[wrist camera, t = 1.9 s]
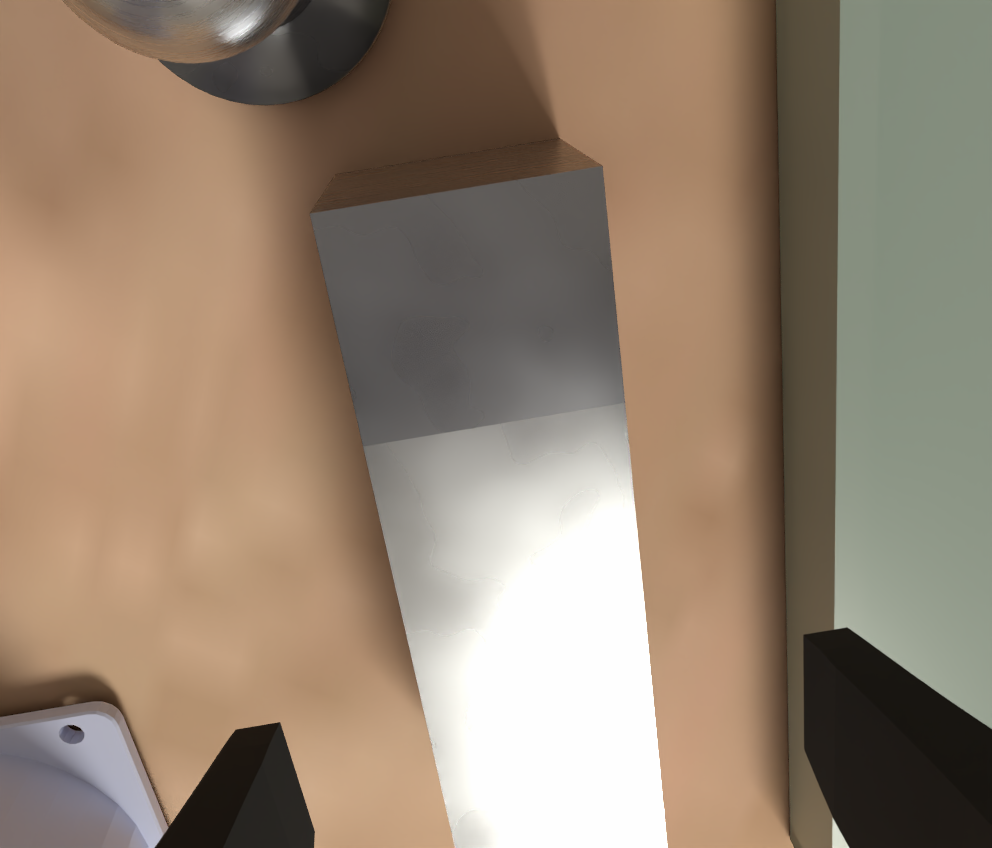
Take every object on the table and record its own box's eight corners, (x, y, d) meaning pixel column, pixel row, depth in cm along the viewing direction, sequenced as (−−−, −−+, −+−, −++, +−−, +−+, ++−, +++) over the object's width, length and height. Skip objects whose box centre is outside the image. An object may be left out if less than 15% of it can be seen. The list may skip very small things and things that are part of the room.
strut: (459, 754, 21) (467, 904, 17) (335, 174, 16) (310, 213, 12) (625, 725, 21) (669, 869, 17) (559, 138, 16) (602, 166, 12)
